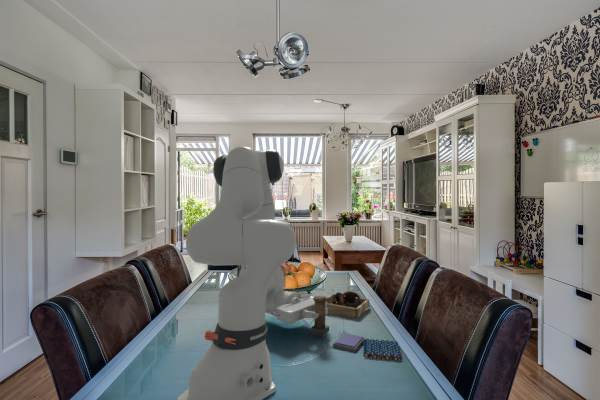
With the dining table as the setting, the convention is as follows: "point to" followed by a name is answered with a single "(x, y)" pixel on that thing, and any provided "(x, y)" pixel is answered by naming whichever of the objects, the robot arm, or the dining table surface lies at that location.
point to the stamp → (320, 316)
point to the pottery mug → (348, 299)
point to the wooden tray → (346, 310)
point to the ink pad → (349, 342)
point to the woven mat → (381, 349)
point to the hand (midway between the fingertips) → (322, 313)
